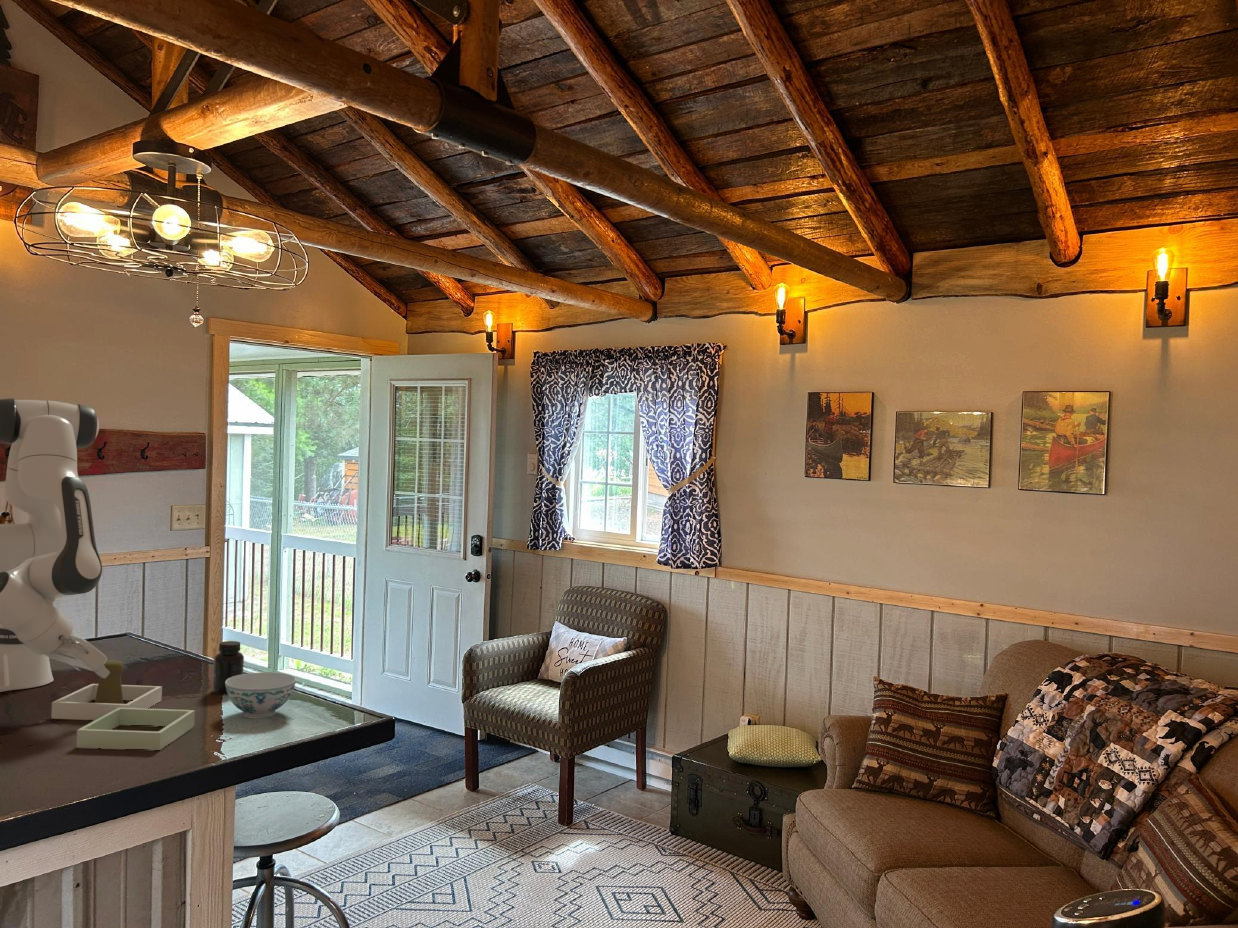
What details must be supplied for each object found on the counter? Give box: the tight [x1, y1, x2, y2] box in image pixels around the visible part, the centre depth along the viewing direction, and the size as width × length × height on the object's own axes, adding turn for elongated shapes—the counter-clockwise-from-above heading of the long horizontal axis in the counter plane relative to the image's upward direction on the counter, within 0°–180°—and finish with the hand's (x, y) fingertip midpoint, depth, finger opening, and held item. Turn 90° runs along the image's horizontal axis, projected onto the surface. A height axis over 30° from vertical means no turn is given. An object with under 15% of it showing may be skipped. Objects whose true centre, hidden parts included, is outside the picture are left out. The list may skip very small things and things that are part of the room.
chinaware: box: [225, 671, 297, 719], centre depth 205 cm, size 15×15×8 cm
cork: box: [94, 659, 125, 704], centre depth 203 cm, size 6×6×11 cm
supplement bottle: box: [212, 640, 245, 695], centre depth 223 cm, size 7×7×12 cm
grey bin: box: [51, 683, 163, 721], centre depth 203 cm, size 16×16×4 cm
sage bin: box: [75, 708, 196, 751], centre depth 186 cm, size 16×16×4 cm
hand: (94, 671), depth 200 cm, fingers open, 8 cm apart
